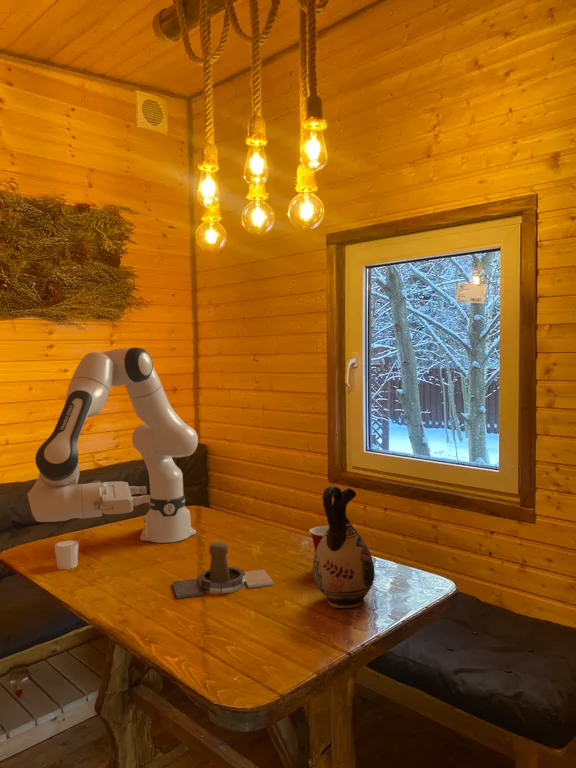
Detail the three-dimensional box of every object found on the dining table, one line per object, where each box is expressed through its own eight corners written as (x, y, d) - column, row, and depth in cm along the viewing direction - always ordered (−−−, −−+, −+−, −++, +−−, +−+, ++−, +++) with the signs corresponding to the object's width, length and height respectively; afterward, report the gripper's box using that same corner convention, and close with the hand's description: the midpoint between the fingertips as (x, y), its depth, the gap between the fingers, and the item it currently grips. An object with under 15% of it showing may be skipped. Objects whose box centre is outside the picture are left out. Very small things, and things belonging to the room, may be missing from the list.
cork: (235, 581, 171) (233, 541, 170) (221, 588, 166) (219, 547, 165) (218, 577, 174) (216, 538, 174) (204, 584, 169) (202, 544, 169)
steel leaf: (197, 579, 172) (197, 575, 172) (262, 570, 178) (262, 566, 178) (204, 596, 161) (204, 591, 161) (274, 586, 167) (274, 581, 167)
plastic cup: (344, 562, 184) (343, 522, 183) (350, 575, 173) (350, 533, 172) (308, 563, 183) (307, 524, 182) (312, 577, 172) (311, 535, 171)
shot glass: (84, 564, 187) (83, 541, 187) (66, 571, 181) (65, 548, 181) (68, 560, 190) (67, 538, 190) (50, 568, 184) (49, 545, 184)
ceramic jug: (333, 584, 167) (331, 475, 165) (385, 597, 158) (383, 481, 156) (297, 607, 153) (295, 488, 151) (352, 623, 144) (350, 496, 142)
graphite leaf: (171, 583, 170) (171, 573, 170) (239, 574, 176) (238, 564, 176) (177, 600, 159) (177, 589, 159) (249, 589, 165) (249, 579, 164)
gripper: (94, 497, 152) (151, 491, 156) (93, 479, 171) (144, 474, 175) (95, 522, 152) (152, 516, 156) (94, 502, 172) (145, 496, 176)
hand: (148, 493), depth 166 cm, fingers open, 8 cm apart
